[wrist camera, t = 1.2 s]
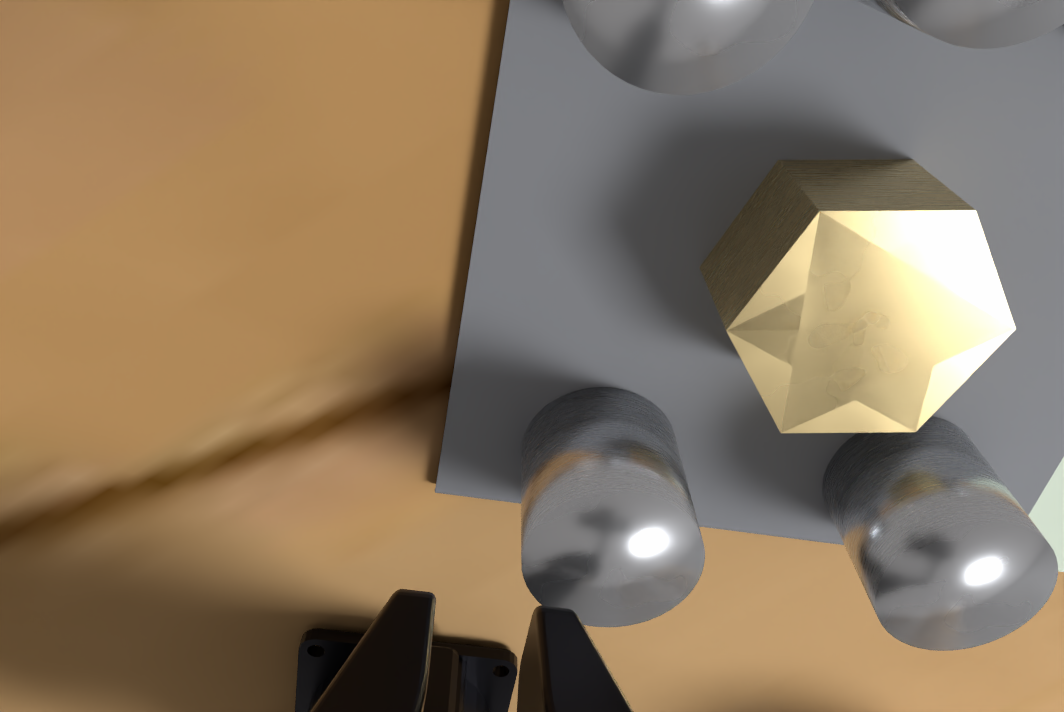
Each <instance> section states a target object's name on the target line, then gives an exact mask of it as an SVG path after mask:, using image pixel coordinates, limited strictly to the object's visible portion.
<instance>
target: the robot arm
mask: <svg viewBox="0 0 1064 712" xmlns="http://www.w3.org/2000/svg"><path fill="white" fill-rule="evenodd" d="M435 604H436V598H435V596H434V594H432V593H430V592H423V591H415V590H406V589H399V590H397V591H396V592H395V593H394V594H393V595H392V596H391V598H390V599H389V600H388V602H387V603H386V605H385V606H384V607H383V609H382V610H381V612H380V613H379V615H378V616H377V617H376V619H375V620H374V622H373V623H372V625H371V626H370V627H369V629H368V630H367V632H366V633H365V634H362V633H353V632H344V631H335V630H326V629H311V630H308V631H306V632H305V633H304V634H303V636H302V639H301V643H300V647H299V655H298V671H297V688H296V705H295V712H508V708H509V704H510V700H511V696H512V692H513V688H514V684H515V680H516V676H517V657H516V656H515V654H514V653H512V652H511V651H508V650H504V649H497V648H488V647H479V646H470V645H461V644H452V643H443V642H434V641H432V635H433V625H434V615H435ZM315 645H318V646H315ZM501 665H502V666H501ZM517 712H633V710H632V708H631V707H630V705H629V703H628V702H627V700H626V698H625V696H624V695H623V693H622V691H621V689H620V688H619V686H618V684H617V683H616V681H615V679H614V677H613V676H612V674H611V672H610V670H609V669H608V667H607V665H606V664H605V662H604V660H603V658H602V657H601V655H600V653H599V651H598V650H597V648H596V646H595V645H594V643H593V641H592V639H591V638H590V636H589V634H588V632H587V631H586V629H585V627H584V626H583V624H582V622H581V620H580V619H579V617H578V615H577V614H576V613H575V612H574V611H573V610H571V609H568V608H559V607H551V606H538V607H537V608H536V609H535V610H534V612H533V615H532V619H531V623H530V627H529V631H528V635H527V639H526V643H525V647H524V651H523V655H522V659H521V665H520V672H519V684H518V702H517Z"/></svg>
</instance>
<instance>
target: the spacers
mask: <svg viewBox="0 0 1064 712" xmlns="http://www.w3.org/2000/svg"><path fill="white" fill-rule="evenodd" d="M562 1H563V4H564V8H565V11H566V13H567V16H568V18H569V21H570V23H571V25H572V27H573V29H574V31H575V33H576V34H577V36H578V38H579V40H580V41H581V42H582V44H583V45H584V46H585V48H586V49H587V50H588V52H589V53H590V54H591V55H592V56H593V57H594V58H595V59H596V60H597V61H598V62H599V63H600V64H601V65H602V66H603V67H604V68H605V69H607V70H608V71H609V72H611V73H612V74H613V75H615V76H616V77H618V78H620V79H622V80H623V81H625V82H627V83H629V84H631V85H634V86H636V87H639V88H641V89H644V90H648V91H652V92H656V93H662V94H671V95H691V94H698V93H704V92H709V91H713V90H716V89H719V88H723V87H725V86H728V85H730V84H732V83H735V82H737V81H739V80H741V79H743V78H745V77H746V76H748V75H750V74H751V73H753V72H755V71H756V70H758V69H759V68H760V67H762V66H763V65H764V64H766V63H767V62H768V61H769V60H770V59H772V58H773V57H774V56H775V55H776V54H777V53H778V52H779V51H780V50H781V49H782V48H783V47H784V46H785V44H786V43H787V42H788V41H789V40H790V38H791V37H792V36H793V35H794V34H795V32H796V31H797V29H798V28H799V26H800V25H801V23H802V22H803V20H804V19H805V17H806V15H807V13H808V11H809V9H810V7H811V5H812V3H813V1H814V0H562ZM856 1H858V2H861V3H863V4H865V5H867V6H869V7H871V8H873V9H875V10H877V11H880V12H882V13H884V14H886V15H888V16H890V17H892V18H894V19H896V20H898V21H901V22H903V23H905V24H907V25H909V26H911V27H913V28H915V29H917V30H920V31H922V32H924V33H926V34H928V35H930V36H932V37H934V38H937V39H939V40H941V41H943V42H946V43H949V44H952V45H956V46H960V47H966V48H975V49H992V48H1000V47H1007V46H1013V45H1016V44H1020V43H1023V42H1027V41H1030V40H1032V39H1035V38H1037V37H1039V36H1042V35H1044V34H1047V33H1048V32H1050V31H1052V30H1054V29H1056V28H1058V27H1059V26H1061V25H1063V24H1064V0H856ZM823 497H824V501H825V503H826V506H827V508H828V510H829V513H830V515H831V517H832V519H833V521H834V523H835V526H836V528H837V530H838V532H839V534H840V536H841V539H842V541H843V543H844V545H845V547H846V549H847V552H848V554H849V556H850V558H851V560H852V562H853V565H854V567H855V569H856V571H857V573H858V575H859V578H860V580H861V582H862V584H863V586H864V588H865V591H866V593H867V595H868V597H869V599H870V601H871V604H872V606H873V608H874V610H875V612H876V614H877V617H878V619H879V621H880V622H881V624H882V626H883V627H884V628H885V629H886V630H887V632H888V633H890V634H891V635H892V636H893V637H895V638H896V639H898V640H900V641H901V642H903V643H906V644H908V645H910V646H914V647H917V648H922V649H928V650H939V651H946V650H959V649H966V648H971V647H976V646H979V645H983V644H986V643H989V642H991V641H994V640H997V639H999V638H1001V637H1003V636H1005V635H1007V634H1009V633H1011V632H1013V631H1014V630H1016V629H1018V628H1019V627H1020V626H1022V625H1023V624H1025V623H1026V622H1027V621H1029V620H1030V619H1031V618H1032V617H1033V616H1034V615H1035V614H1036V613H1037V612H1038V611H1039V610H1040V609H1041V608H1042V607H1043V606H1044V604H1045V603H1046V602H1047V600H1048V599H1049V597H1050V595H1051V593H1052V592H1053V589H1054V587H1055V584H1056V581H1057V576H1058V563H1057V557H1056V555H1055V553H1054V550H1053V549H1052V547H1051V546H1050V544H1049V543H1048V541H1047V540H1046V539H1045V537H1044V536H1043V535H1042V533H1041V532H1040V531H1039V529H1038V528H1037V527H1036V525H1035V524H1034V523H1033V521H1032V520H1031V519H1030V517H1029V516H1028V515H1027V514H1026V512H1025V511H1024V510H1023V508H1022V507H1021V506H1020V504H1019V503H1018V502H1017V500H1016V499H1015V498H1014V496H1013V495H1012V494H1011V492H1010V491H1009V490H1008V488H1007V487H1006V486H1005V484H1004V483H1003V482H1002V480H1001V479H1000V478H999V476H998V475H997V474H996V472H995V471H994V470H993V468H992V467H991V466H990V464H989V463H988V462H987V460H986V459H985V458H984V456H983V455H982V454H981V452H980V451H979V450H978V449H977V447H976V446H975V445H974V443H973V442H972V441H971V439H970V438H969V437H968V435H967V434H966V433H965V432H964V431H963V430H962V429H961V428H959V427H958V426H956V425H955V424H953V423H951V422H949V421H947V420H944V419H941V418H938V417H934V416H931V417H930V418H929V419H928V420H927V421H926V422H925V423H924V424H923V425H922V426H921V427H920V428H919V429H918V430H917V431H916V432H876V433H857V434H855V435H854V436H852V437H851V438H850V439H849V440H848V441H846V442H845V443H844V444H843V445H842V446H841V447H840V448H839V450H838V451H837V452H836V453H835V455H834V456H833V457H832V459H831V461H830V462H829V464H828V466H827V469H826V471H825V474H824V479H823ZM521 558H522V572H523V577H524V580H525V582H526V585H527V587H528V589H529V590H530V592H531V594H532V595H533V596H534V597H535V598H536V600H537V601H538V602H539V603H540V604H542V605H543V606H551V607H559V608H568V609H571V610H573V611H574V612H575V613H576V614H577V615H578V617H579V619H580V620H581V622H582V624H583V625H588V626H595V627H620V626H628V625H633V624H638V623H641V622H645V621H648V620H651V619H653V618H655V617H658V616H660V615H662V614H664V613H666V612H667V611H669V610H671V609H672V608H674V607H675V606H676V605H678V604H679V603H680V602H681V601H682V600H684V599H685V598H686V597H687V596H688V594H689V593H690V592H691V591H692V590H693V588H694V587H695V585H696V584H697V582H698V580H699V578H700V576H701V574H702V570H703V566H704V560H705V550H704V544H703V540H702V536H701V532H700V529H699V525H698V521H697V517H696V513H695V510H694V506H693V502H692V498H691V494H690V490H689V487H688V483H687V479H686V475H685V471H684V468H683V464H682V460H681V456H680V452H679V448H678V445H677V441H676V437H675V433H674V430H673V427H672V425H671V423H670V421H669V420H668V418H667V416H666V415H665V414H664V413H663V412H662V410H661V409H660V408H659V407H658V406H656V405H655V404H654V403H653V402H651V401H650V400H648V399H647V398H645V397H643V396H641V395H639V394H637V393H634V392H631V391H628V390H624V389H619V388H612V387H593V388H585V389H581V390H577V391H573V392H571V393H568V394H565V395H563V396H561V397H559V398H557V399H555V400H554V401H552V402H551V403H549V404H548V405H546V406H545V407H544V408H543V409H542V410H541V411H539V413H538V414H537V415H536V416H535V417H534V418H533V420H532V421H531V423H530V424H529V426H528V428H527V430H526V432H525V434H524V438H523V441H522V448H521Z"/></svg>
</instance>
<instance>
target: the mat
mask: <svg viewBox="0 0 1064 712" xmlns="http://www.w3.org/2000/svg"><path fill="white" fill-rule="evenodd" d="M856 159H913V160H914V161H916V162H917V163H918V164H919V165H921V166H922V167H923V168H924V169H925V170H927V171H928V172H929V173H930V174H932V175H933V176H934V177H935V178H937V179H938V180H939V181H940V182H942V183H943V184H944V185H945V186H946V187H948V188H949V189H950V190H951V191H953V192H954V193H955V194H956V195H958V196H959V197H960V198H961V199H963V200H964V201H965V202H966V203H967V204H969V205H970V206H971V207H972V208H974V209H975V210H976V212H977V215H978V218H979V221H980V224H981V227H982V230H983V233H984V236H985V239H986V242H987V245H988V248H989V251H990V254H991V257H992V260H993V263H994V266H995V269H996V272H997V275H998V278H999V280H1000V283H1001V286H1002V289H1003V292H1004V295H1005V298H1006V301H1007V304H1008V307H1009V310H1010V313H1011V316H1012V319H1013V322H1014V325H1015V328H1016V329H1015V330H1014V331H1013V332H1012V333H1011V334H1010V335H1009V336H1008V337H1007V338H1006V340H1005V341H1004V342H1003V343H1002V344H1001V345H1000V346H999V347H998V348H997V349H996V350H995V351H994V352H993V353H992V354H991V355H990V356H989V357H988V358H987V359H986V360H985V361H984V362H983V363H982V364H981V365H980V366H979V367H978V368H977V369H976V370H975V371H974V373H973V374H972V375H971V376H970V377H969V378H968V379H967V380H966V381H965V382H964V383H963V384H962V385H961V386H960V387H959V388H958V389H957V390H956V391H955V392H954V393H953V394H952V395H951V396H950V397H949V398H948V399H947V400H946V401H945V402H944V403H943V404H942V406H941V407H940V408H939V409H938V410H937V411H936V412H935V413H934V414H933V415H932V416H934V417H938V418H941V419H944V420H947V421H949V422H951V423H953V424H955V425H956V426H958V427H959V428H961V429H962V430H963V431H964V432H965V433H966V434H967V435H968V437H969V438H970V439H971V441H972V442H973V443H974V445H975V446H976V447H977V449H978V450H979V451H980V452H981V454H982V455H983V456H984V458H985V459H986V460H987V462H988V463H989V464H990V466H991V467H992V468H993V470H994V471H995V472H996V474H997V475H998V476H999V478H1000V479H1001V480H1002V482H1003V483H1004V484H1005V486H1006V487H1007V488H1008V490H1009V491H1010V492H1011V494H1012V495H1013V496H1014V498H1015V499H1016V500H1017V502H1018V503H1019V504H1020V506H1021V507H1022V508H1023V510H1024V511H1025V512H1026V514H1027V515H1028V516H1029V517H1030V519H1031V520H1032V521H1033V523H1034V524H1035V525H1036V527H1037V528H1038V529H1039V531H1040V532H1041V533H1042V535H1043V536H1044V537H1045V539H1046V540H1047V541H1048V543H1049V544H1050V546H1051V547H1052V549H1053V550H1054V553H1055V555H1056V557H1057V563H1058V571H1060V572H1064V24H1063V25H1061V26H1059V27H1058V28H1056V29H1054V30H1052V31H1050V32H1048V33H1047V34H1044V35H1042V36H1039V37H1037V38H1035V39H1032V40H1030V41H1027V42H1023V43H1020V44H1016V45H1013V46H1007V47H1000V48H992V49H975V48H966V47H960V46H956V45H952V44H949V43H946V42H943V41H941V40H939V39H937V38H934V37H932V36H930V35H928V34H926V33H924V32H922V31H920V30H917V29H915V28H913V27H911V26H909V25H907V24H905V23H903V22H901V21H898V20H896V19H894V18H892V17H890V16H888V15H886V14H884V13H882V12H880V11H877V10H875V9H873V8H871V7H869V6H867V5H865V4H863V3H861V2H858V1H856V0H814V1H813V3H812V5H811V7H810V9H809V11H808V13H807V15H806V17H805V19H804V20H803V22H802V23H801V25H800V26H799V28H798V29H797V31H796V32H795V34H794V35H793V36H792V37H791V38H790V40H789V41H788V42H787V43H786V44H785V46H784V47H783V48H782V49H781V50H780V51H779V52H778V53H777V54H776V55H775V56H774V57H773V58H772V59H770V60H769V61H768V62H767V63H766V64H764V65H763V66H762V67H760V68H759V69H758V70H756V71H755V72H753V73H751V74H750V75H748V76H746V77H745V78H743V79H741V80H739V81H737V82H735V83H732V84H730V85H728V86H725V87H723V88H719V89H716V90H713V91H709V92H704V93H698V94H691V95H671V94H662V93H656V92H652V91H648V90H644V89H641V88H639V87H636V86H634V85H631V84H629V83H627V82H625V81H623V80H622V79H620V78H618V77H616V76H615V75H613V74H612V73H611V72H609V71H608V70H607V69H605V68H604V67H603V66H602V65H601V64H600V63H599V62H598V61H597V60H596V59H595V58H594V57H593V56H592V55H591V54H590V53H589V52H588V50H587V49H586V48H585V46H584V45H583V44H582V42H581V41H580V40H579V38H578V36H577V34H576V33H575V31H574V29H573V27H572V25H571V23H570V21H569V18H568V16H567V13H566V11H565V8H564V4H563V1H562V0H510V4H509V11H508V17H507V24H506V30H505V37H504V43H503V50H502V57H501V63H500V70H499V76H498V83H497V89H496V96H495V102H494V109H493V115H492V122H491V128H490V135H489V142H488V148H487V155H486V161H485V168H484V174H483V181H482V187H481V194H480V200H479V207H478V214H477V220H476V227H475V233H474V240H473V246H472V253H471V259H470V266H469V272H468V279H467V286H466V292H465V299H464V305H463V312H462V318H461V325H460V331H459V338H458V344H457V351H456V357H455V364H454V371H453V377H452V384H451V390H450V397H449V403H448V410H447V416H446V423H445V429H444V436H443V443H442V449H441V456H440V462H439V469H438V475H437V482H436V489H435V493H443V494H451V495H459V496H467V497H474V498H482V499H490V500H498V501H505V502H513V503H521V448H522V441H523V438H524V434H525V432H526V430H527V428H528V426H529V424H530V423H531V421H532V420H533V418H534V417H535V416H536V415H537V414H538V413H539V411H541V410H542V409H543V408H544V407H545V406H546V405H548V404H549V403H551V402H552V401H554V400H555V399H557V398H559V397H561V396H563V395H565V394H568V393H571V392H573V391H577V390H581V389H585V388H593V387H612V388H619V389H624V390H628V391H631V392H634V393H637V394H639V395H641V396H643V397H645V398H647V399H648V400H650V401H651V402H653V403H654V404H655V405H656V406H658V407H659V408H660V409H661V410H662V412H663V413H664V414H665V415H666V416H667V418H668V420H669V421H670V423H671V425H672V427H673V430H674V433H675V437H676V441H677V445H678V448H679V452H680V456H681V460H682V464H683V468H684V471H685V475H686V479H687V483H688V487H689V490H690V494H691V498H692V502H693V506H694V510H695V513H696V517H697V521H698V525H699V526H700V527H708V528H716V529H724V530H732V531H739V532H747V533H755V534H763V535H770V536H778V537H786V538H794V539H802V540H809V541H817V542H825V543H833V544H841V545H844V543H843V541H842V539H841V536H840V534H839V532H838V530H837V528H836V526H835V523H834V521H833V519H832V517H831V515H830V513H829V510H828V508H827V506H826V503H825V501H824V497H823V479H824V474H825V471H826V469H827V466H828V464H829V462H830V461H831V459H832V457H833V456H834V455H835V453H836V452H837V451H838V450H839V448H840V447H841V446H842V445H843V444H844V443H845V442H846V441H848V440H849V439H850V438H851V437H852V436H854V435H855V434H857V433H780V431H779V429H778V427H777V425H776V423H775V422H774V420H773V418H772V416H771V414H770V412H769V410H768V408H767V407H766V405H765V403H764V401H763V399H762V397H761V395H760V393H759V391H758V390H757V388H756V386H755V384H754V382H753V380H752V378H751V376H750V375H749V373H748V371H747V369H746V367H745V365H744V363H743V361H742V359H741V358H740V356H739V354H738V352H737V350H736V348H735V346H734V344H733V343H732V341H731V339H730V337H729V335H728V333H727V331H726V329H725V327H724V324H723V322H722V320H721V317H720V315H719V312H718V310H717V308H716V305H715V303H714V301H713V298H712V296H711V293H710V291H709V289H708V286H707V284H706V282H705V279H704V277H703V275H702V272H701V270H700V266H701V264H702V263H703V262H704V260H705V259H706V257H707V256H708V255H709V253H710V252H711V251H712V249H713V248H714V247H715V245H716V244H717V243H718V241H719V240H720V238H721V237H722V236H723V234H724V233H725V232H726V230H727V229H728V228H729V226H730V225H731V223H732V222H733V221H734V219H735V218H736V217H737V215H738V214H739V213H740V211H741V210H742V208H743V207H744V206H745V204H746V203H747V202H748V200H749V199H750V198H751V196H752V195H753V193H754V192H755V191H756V189H757V188H758V187H759V185H760V184H761V183H762V181H763V180H764V178H765V177H766V176H767V174H768V173H769V172H770V170H771V169H772V168H773V166H774V165H775V164H776V162H777V161H778V160H856Z"/></svg>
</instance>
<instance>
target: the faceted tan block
mask: <svg viewBox="0 0 1064 712" xmlns="http://www.w3.org/2000/svg"><path fill="white" fill-rule="evenodd" d="M700 270H701V272H702V275H703V277H704V279H705V282H706V284H707V286H708V289H709V291H710V293H711V296H712V298H713V301H714V303H715V305H716V308H717V310H718V312H719V315H720V317H721V320H722V322H723V324H724V327H725V329H726V331H727V333H728V335H729V337H730V339H731V341H732V343H733V344H734V346H735V348H736V350H737V352H738V354H739V356H740V358H741V359H742V361H743V363H744V365H745V367H746V369H747V371H748V373H749V375H750V376H751V378H752V380H753V382H754V384H755V386H756V388H757V390H758V391H759V393H760V395H761V397H762V399H763V401H764V403H765V405H766V407H767V408H768V410H769V412H770V414H771V416H772V418H773V420H774V422H775V423H776V425H777V427H778V429H779V431H780V433H876V432H916V431H917V430H918V429H919V428H920V427H921V426H922V425H923V424H924V423H925V422H926V421H927V420H928V419H929V418H930V417H931V416H932V415H933V414H934V413H935V412H936V411H937V410H938V409H939V408H940V407H941V406H942V404H943V403H944V402H945V401H946V400H947V399H948V398H949V397H950V396H951V395H952V394H953V393H954V392H955V391H956V390H957V389H958V388H959V387H960V386H961V385H962V384H963V383H964V382H965V381H966V380H967V379H968V378H969V377H970V376H971V375H972V374H973V373H974V371H975V370H976V369H977V368H978V367H979V366H980V365H981V364H982V363H983V362H984V361H985V360H986V359H987V358H988V357H989V356H990V355H991V354H992V353H993V352H994V351H995V350H996V349H997V348H998V347H999V346H1000V345H1001V344H1002V343H1003V342H1004V341H1005V340H1006V338H1007V337H1008V336H1009V335H1010V334H1011V333H1012V332H1013V331H1014V330H1015V329H1016V328H1015V325H1014V322H1013V319H1012V316H1011V313H1010V310H1009V307H1008V304H1007V301H1006V298H1005V295H1004V292H1003V289H1002V286H1001V283H1000V280H999V278H998V275H997V272H996V269H995V266H994V263H993V260H992V257H991V254H990V251H989V248H988V245H987V242H986V239H985V236H984V233H983V230H982V227H981V224H980V221H979V218H978V215H977V212H976V210H975V209H974V208H972V207H971V206H970V205H969V204H967V203H966V202H965V201H964V200H963V199H961V198H960V197H959V196H958V195H956V194H955V193H954V192H953V191H951V190H950V189H949V188H948V187H946V186H945V185H944V184H943V183H942V182H940V181H939V180H938V179H937V178H935V177H934V176H933V175H932V174H930V173H929V172H928V171H927V170H925V169H924V168H923V167H922V166H921V165H919V164H918V163H917V162H916V161H914V160H913V159H856V160H778V161H777V162H776V164H775V165H774V166H773V168H772V169H771V170H770V172H769V173H768V174H767V176H766V177H765V178H764V180H763V181H762V183H761V184H760V185H759V187H758V188H757V189H756V191H755V192H754V193H753V195H752V196H751V198H750V199H749V200H748V202H747V203H746V204H745V206H744V207H743V208H742V210H741V211H740V213H739V214H738V215H737V217H736V218H735V219H734V221H733V222H732V223H731V225H730V226H729V228H728V229H727V230H726V232H725V233H724V234H723V236H722V237H721V238H720V240H719V241H718V243H717V244H716V245H715V247H714V248H713V249H712V251H711V252H710V253H709V255H708V256H707V257H706V259H705V260H704V262H703V263H702V264H701V266H700Z"/></svg>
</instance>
